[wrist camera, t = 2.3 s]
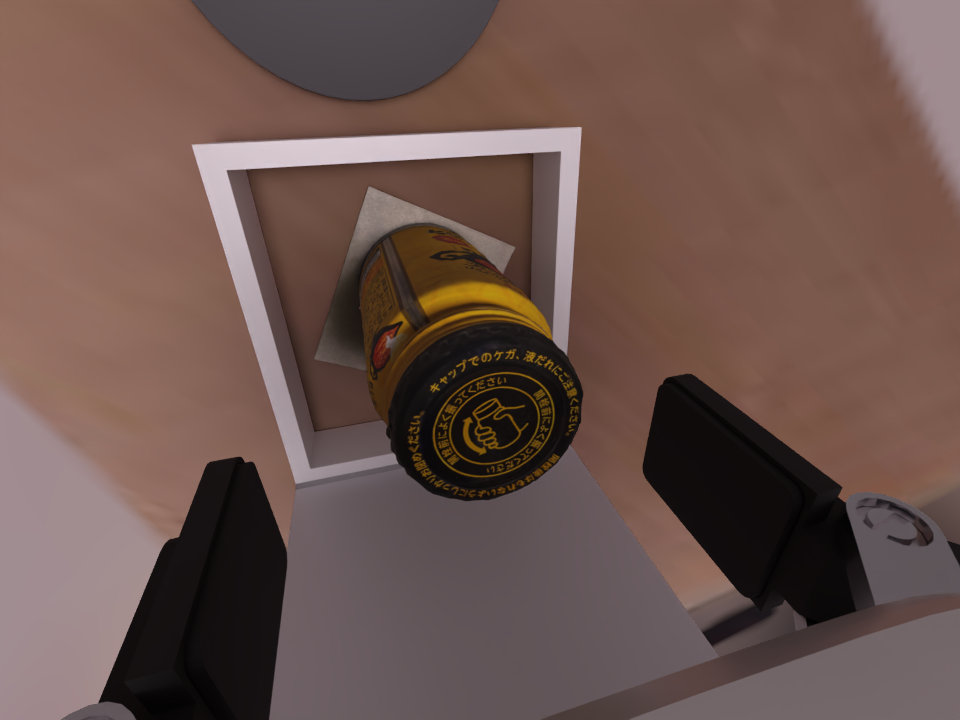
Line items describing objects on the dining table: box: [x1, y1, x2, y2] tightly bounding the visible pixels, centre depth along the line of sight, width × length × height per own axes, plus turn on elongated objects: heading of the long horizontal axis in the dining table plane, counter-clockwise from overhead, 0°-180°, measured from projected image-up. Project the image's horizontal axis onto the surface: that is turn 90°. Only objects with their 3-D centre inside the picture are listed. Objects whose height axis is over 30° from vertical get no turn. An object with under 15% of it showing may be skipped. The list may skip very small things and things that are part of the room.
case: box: [192, 127, 719, 720], centre depth 16 cm, size 16×14×15 cm
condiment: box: [314, 187, 583, 501], centre depth 17 cm, size 7×8×12 cm
